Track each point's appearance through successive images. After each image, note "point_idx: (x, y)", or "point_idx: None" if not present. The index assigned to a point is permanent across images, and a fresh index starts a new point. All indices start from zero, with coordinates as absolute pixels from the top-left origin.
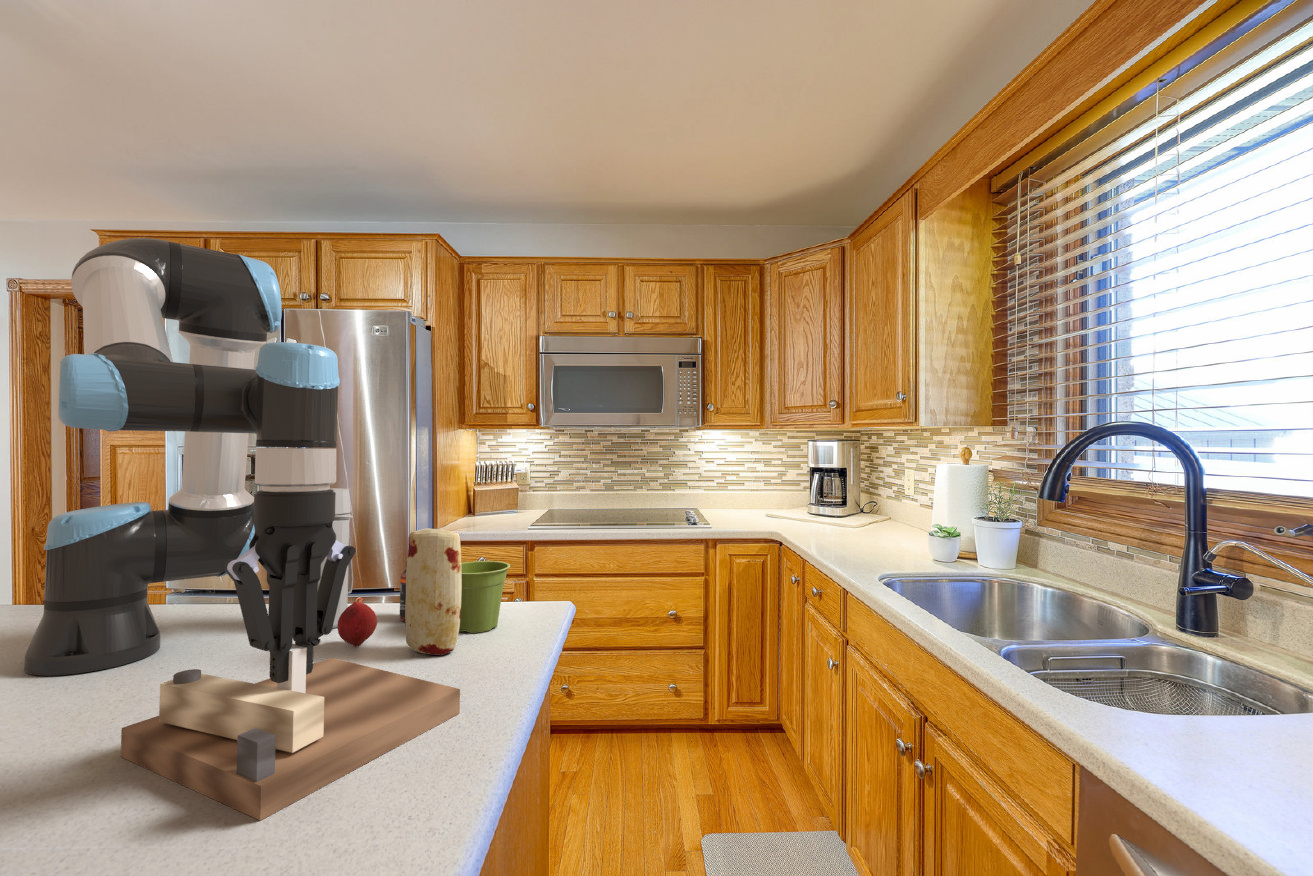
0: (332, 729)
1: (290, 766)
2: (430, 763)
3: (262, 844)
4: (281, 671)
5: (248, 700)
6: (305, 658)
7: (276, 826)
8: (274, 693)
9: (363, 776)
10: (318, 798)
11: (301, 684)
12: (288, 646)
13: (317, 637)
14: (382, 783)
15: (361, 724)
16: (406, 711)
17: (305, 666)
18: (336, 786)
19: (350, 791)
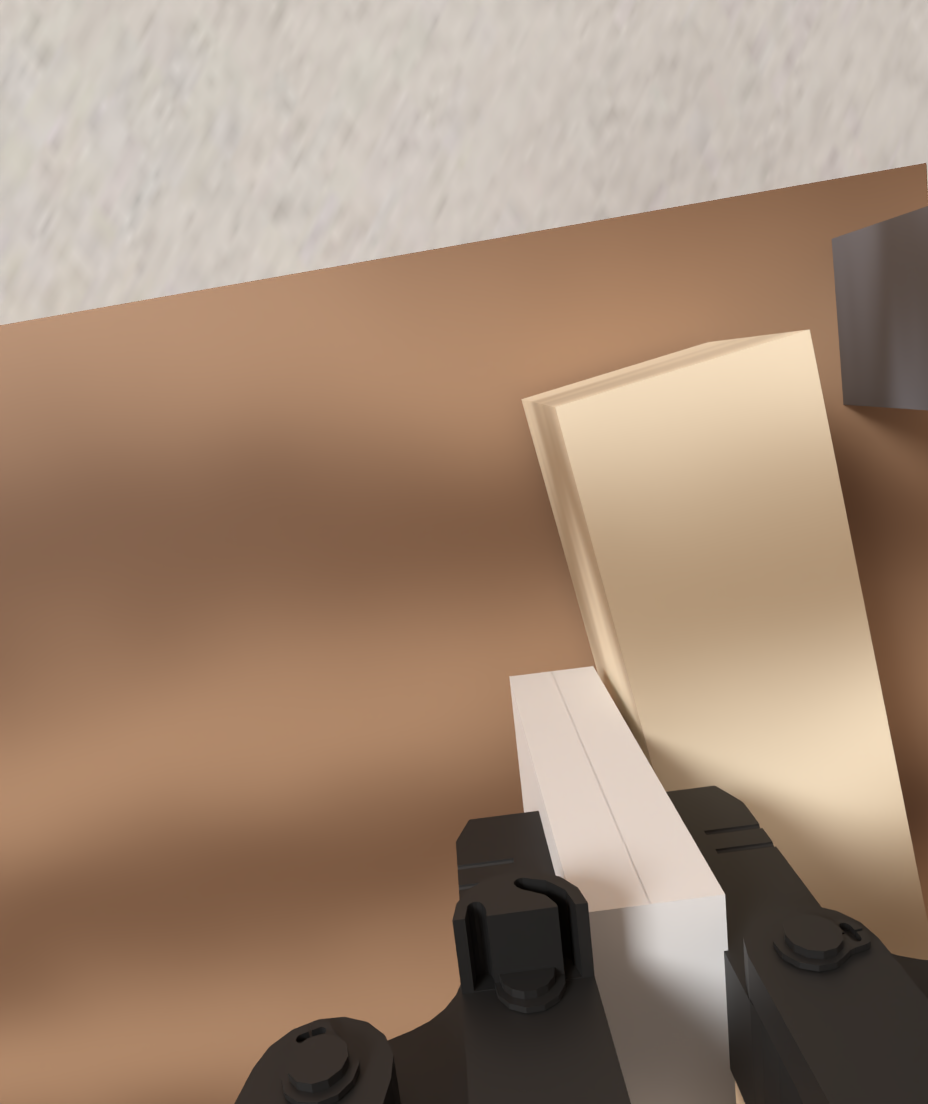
0: (426, 487)
1: (756, 244)
2: (138, 11)
3: (914, 17)
4: (731, 832)
5: (877, 757)
6: (565, 848)
7: (825, 102)
8: (728, 745)
9: (415, 184)
10: (627, 171)
11: (561, 739)
12: (802, 931)
13: (422, 1037)
14: (391, 41)
15: (294, 416)
16: (27, 365)
17: (552, 808)
18: (532, 203)
19: (516, 104)
